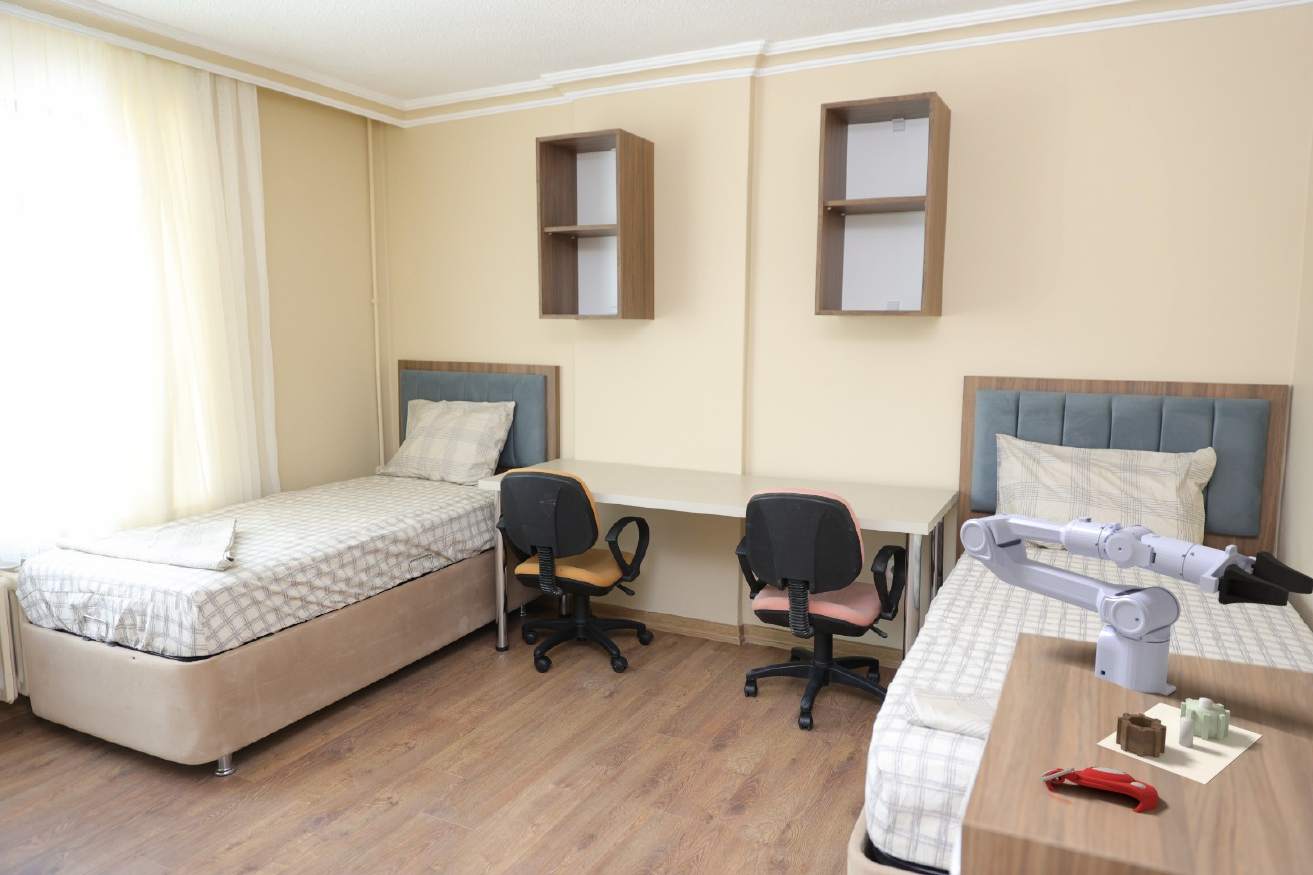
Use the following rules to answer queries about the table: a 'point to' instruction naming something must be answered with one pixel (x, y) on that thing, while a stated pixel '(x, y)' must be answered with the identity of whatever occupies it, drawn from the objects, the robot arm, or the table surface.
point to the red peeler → (1106, 783)
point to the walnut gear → (1141, 735)
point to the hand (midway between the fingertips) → (1300, 592)
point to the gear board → (1194, 739)
